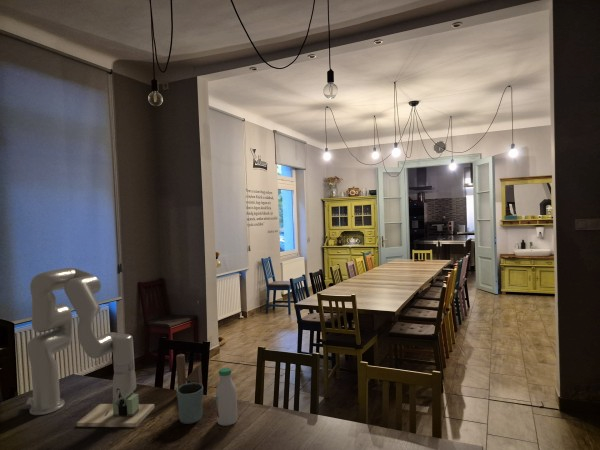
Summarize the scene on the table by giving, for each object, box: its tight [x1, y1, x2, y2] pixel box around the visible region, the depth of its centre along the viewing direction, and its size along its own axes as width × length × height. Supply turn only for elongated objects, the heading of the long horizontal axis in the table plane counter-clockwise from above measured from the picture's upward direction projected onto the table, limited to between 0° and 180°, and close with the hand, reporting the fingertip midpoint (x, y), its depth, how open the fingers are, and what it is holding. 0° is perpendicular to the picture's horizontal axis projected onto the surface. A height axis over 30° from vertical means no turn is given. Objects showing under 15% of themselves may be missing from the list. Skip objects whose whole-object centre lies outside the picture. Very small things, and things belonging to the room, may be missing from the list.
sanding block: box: [112, 393, 140, 416], centre depth 161 cm, size 8×5×6 cm, turn 84°
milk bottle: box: [215, 367, 239, 427], centre depth 154 cm, size 8×8×20 cm
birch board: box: [76, 403, 155, 428], centre depth 162 cm, size 24×15×2 cm, turn 84°
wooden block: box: [175, 353, 203, 393], centre depth 177 cm, size 4×11×18 cm, turn 81°
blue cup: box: [176, 382, 204, 425], centre depth 158 cm, size 10×10×12 cm
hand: (126, 411), depth 161 cm, fingers closed on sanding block, 5 cm apart
